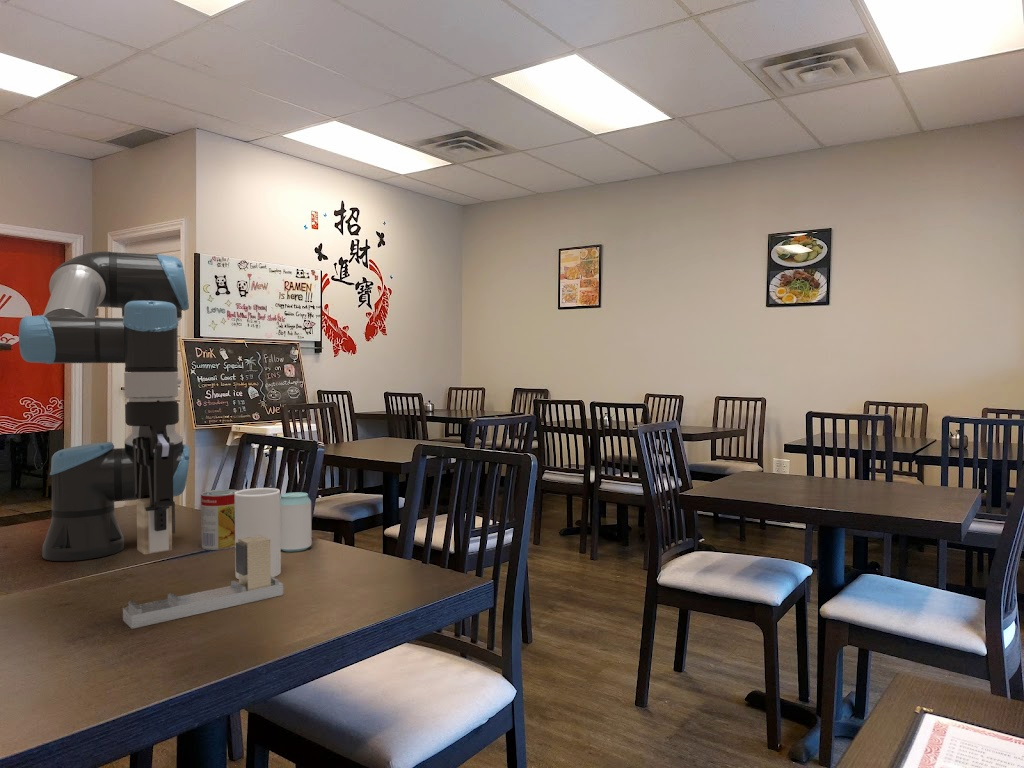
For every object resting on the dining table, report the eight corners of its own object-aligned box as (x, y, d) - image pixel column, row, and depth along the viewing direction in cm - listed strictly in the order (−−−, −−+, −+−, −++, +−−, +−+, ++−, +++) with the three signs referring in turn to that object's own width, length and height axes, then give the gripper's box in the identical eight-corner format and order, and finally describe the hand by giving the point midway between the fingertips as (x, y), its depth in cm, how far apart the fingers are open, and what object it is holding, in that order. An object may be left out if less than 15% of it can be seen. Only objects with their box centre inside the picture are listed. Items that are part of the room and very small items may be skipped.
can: (306, 552, 153) (305, 497, 153) (273, 552, 153) (272, 497, 153) (315, 544, 160) (314, 491, 160) (284, 544, 160) (283, 491, 160)
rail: (123, 620, 112) (122, 556, 112) (271, 588, 128) (270, 533, 128) (131, 628, 108) (130, 563, 108) (283, 594, 124) (282, 537, 124)
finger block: (144, 554, 110) (143, 502, 109) (137, 549, 113) (136, 499, 112) (176, 549, 113) (175, 498, 113) (168, 545, 116) (167, 495, 116)
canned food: (246, 542, 163) (246, 490, 163) (225, 550, 155) (224, 495, 155) (216, 540, 165) (215, 488, 164) (193, 549, 157) (193, 494, 157)
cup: (266, 581, 132) (265, 495, 132) (226, 579, 134) (225, 494, 134) (288, 569, 140) (287, 488, 140) (250, 567, 142) (250, 487, 142)
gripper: (195, 400, 108) (197, 553, 109) (161, 398, 121) (163, 535, 121) (141, 401, 103) (143, 563, 104) (111, 399, 116) (113, 542, 116)
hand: (154, 547), depth 112 cm, fingers closed on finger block, 4 cm apart
